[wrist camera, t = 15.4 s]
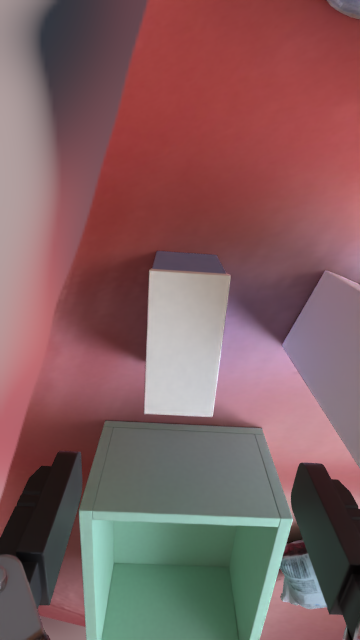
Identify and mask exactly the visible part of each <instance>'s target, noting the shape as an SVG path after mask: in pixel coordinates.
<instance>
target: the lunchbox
mask: <svg viewBox="0 0 360 640" xmlns="http://www.w3.org/2000/svg"><path fill="white" fill-rule="evenodd" d="M292 521H293V518H292V515H291V512H290V509H289V506H288V503H287V500H286V497H285V495H284V492H283V489H282V486H281V483H280V480H279V477H278V474H277V471H276V468H275V465H274V462H273V460H272V457H271V454H270V451H269V448H268V445H267V442H266V439H265V436H264V433H263V430H262V428H247V427H226V426H206V425H186V424H166V423H146V422H125V421H105V423H104V426H103V429H102V433H101V436H100V440H99V443H98V446H97V450H96V453H95V457H94V460H93V464H92V467H91V470H90V474H89V477H88V481H87V484H86V487H85V491H84V494H83V498H82V501H81V504H80V508H79V524H80V540H81V557H82V573H83V590H84V606H85V623H86V638H87V640H259V639H260V635H261V632H262V628H263V625H264V621H265V617H266V614H267V610H268V607H269V603H270V600H271V596H272V592H273V589H274V585H275V582H276V578H277V574H278V571H279V567H280V564H281V560H282V557H283V553H284V549H285V546H286V542H287V539H288V535H289V532H290V528H291V524H292Z"/></svg>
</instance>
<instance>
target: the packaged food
mask: <svg viewBox="0 0 360 640" xmlns="http://www.w3.org/2000/svg"><path fill="white" fill-rule="evenodd" d="M279 568H280V569H281V570H282V572H283V574H284V575H285V578H284V585H283V593H282V594H281V595H282V596H281V600H282V601H283V602H290V603H291V604H294V605H298V604H299V605H301V606H302V607H305V608H307V609H315V608H323V607H327V606H326V603H325V600H324V597H323V595H322V592H321V589H320V586H319V583H318V580H317V578H316V575H315V572H314V569H313V566H312V564H311V561H310V558H309V555H308V552H307V549H306V547H305V544H304V541H303V540H299V541H295V542H292V543H290V544H286V546H285V549H284V553H283V557H282V560H281V564H280V567H279Z"/></svg>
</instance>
